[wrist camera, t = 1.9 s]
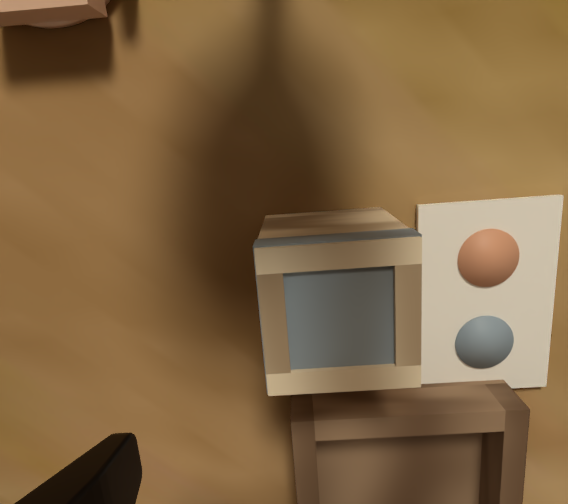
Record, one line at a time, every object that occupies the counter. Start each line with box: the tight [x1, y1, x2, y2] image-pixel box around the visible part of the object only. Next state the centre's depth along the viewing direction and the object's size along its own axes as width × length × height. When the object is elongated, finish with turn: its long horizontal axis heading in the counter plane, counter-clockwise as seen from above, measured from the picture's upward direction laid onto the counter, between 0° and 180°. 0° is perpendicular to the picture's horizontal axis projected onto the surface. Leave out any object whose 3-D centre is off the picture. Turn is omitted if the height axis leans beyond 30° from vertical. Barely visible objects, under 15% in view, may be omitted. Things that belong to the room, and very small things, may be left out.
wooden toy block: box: [253, 207, 422, 396], centre depth 16 cm, size 5×5×6 cm
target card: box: [416, 195, 564, 388], centre depth 19 cm, size 6×9×1 cm, turn 4°
